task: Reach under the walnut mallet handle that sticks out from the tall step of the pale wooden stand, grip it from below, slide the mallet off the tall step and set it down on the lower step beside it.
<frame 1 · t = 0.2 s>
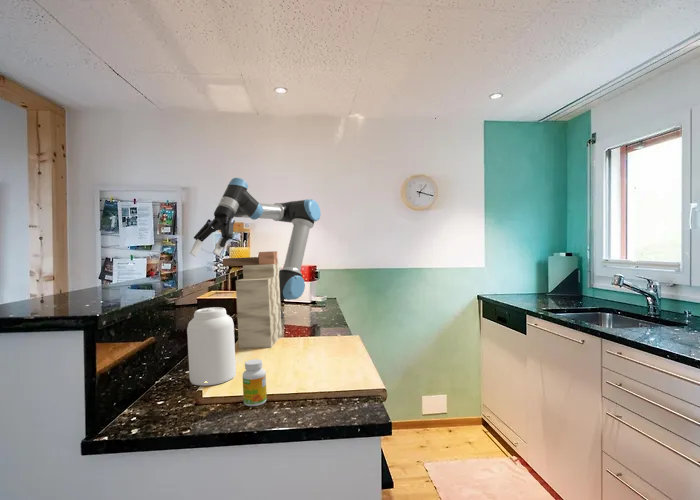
hand: (204, 254, 145), 35 cm above the counter, tool tilted 35°, fingers open, 13 cm apart
supplement bottle: (255, 402, 90), on the counter
stand: (261, 341, 148), on the counter
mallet: (250, 264, 152), point 30 cm above the counter, touching stand
white jar: (213, 379, 108), on the counter
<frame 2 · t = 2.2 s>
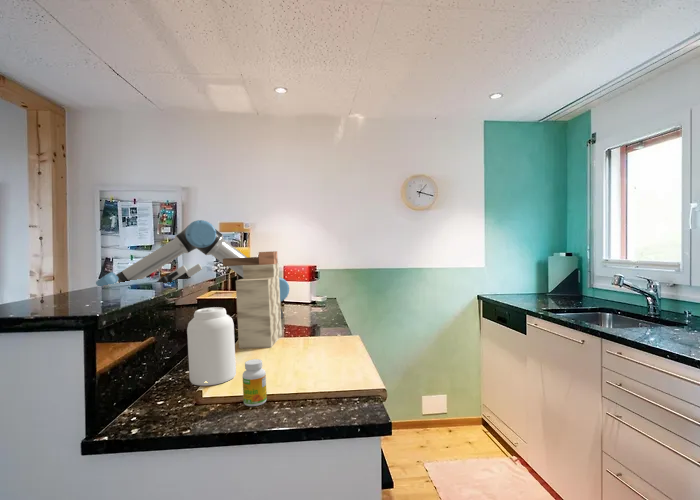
hand: (193, 267, 153), 30 cm above the counter, tool pointing upward, fingers open, 13 cm apart
nothing on the counter moved.
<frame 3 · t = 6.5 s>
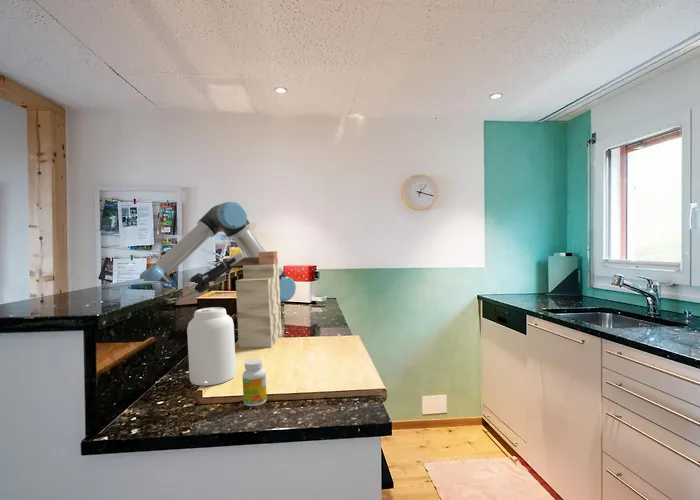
hand: (244, 254, 152), 34 cm above the counter, tool pointing upward, fingers closed on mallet, 3 cm apart
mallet: (250, 264, 152), point 30 cm above the counter, touching gripper, stand
everything else where it was.
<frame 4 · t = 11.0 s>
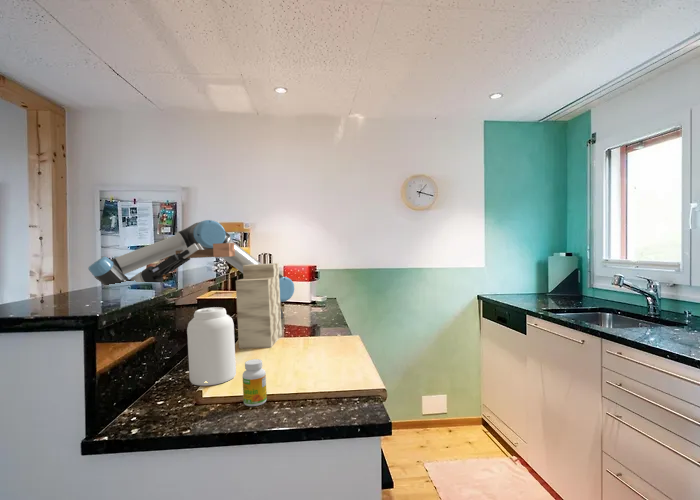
hand: (198, 246, 143), 38 cm above the counter, tool pointing upward, fingers closed on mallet, 3 cm apart
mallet: (205, 257, 143), point 34 cm above the counter, touching gripper
everything else where it was.
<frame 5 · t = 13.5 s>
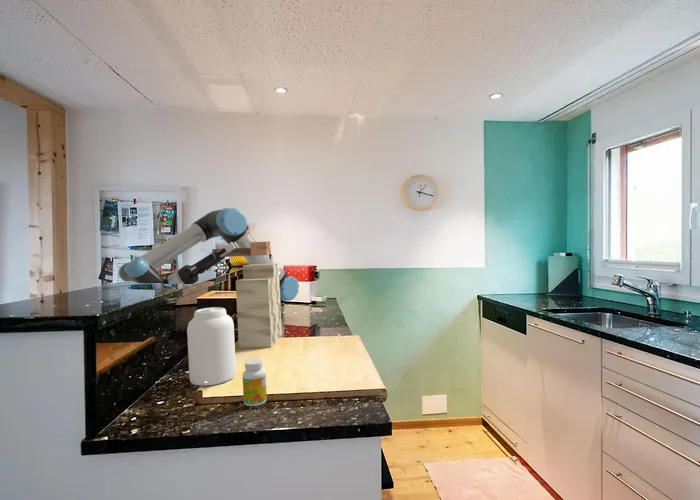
hand: (235, 245, 143), 38 cm above the counter, tool pointing upward, fingers closed on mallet, 3 cm apart
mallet: (241, 256, 143), point 34 cm above the counter, touching gripper
everything else where it was.
when the fingers open (31 cm above the counter, at t = 15.6 s): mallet drops 2 cm, resting on stand.
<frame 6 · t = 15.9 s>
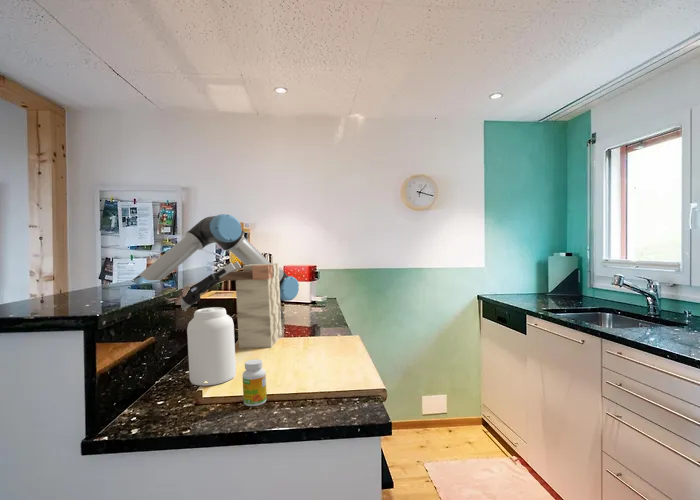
hand: (236, 265, 143), 31 cm above the counter, tool pointing upward, fingers open, 6 cm apart
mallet: (243, 279, 143), point 25 cm above the counter, touching stand
everything else where it was.
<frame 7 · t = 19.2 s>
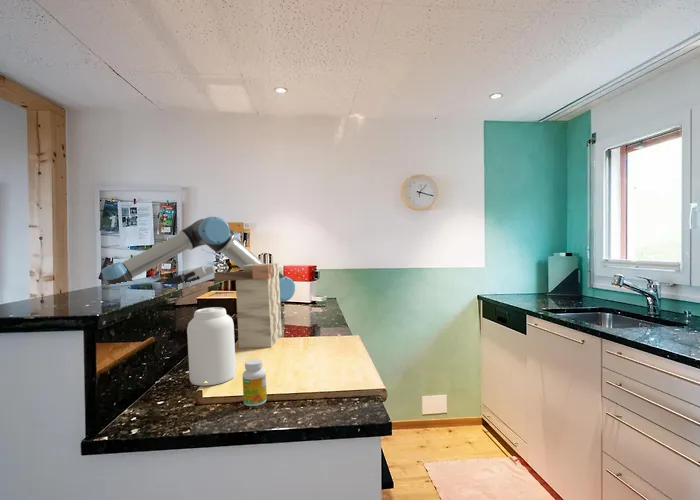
hand: (209, 269, 147), 29 cm above the counter, tool pointing upward, fingers open, 13 cm apart
nothing on the counter moved.
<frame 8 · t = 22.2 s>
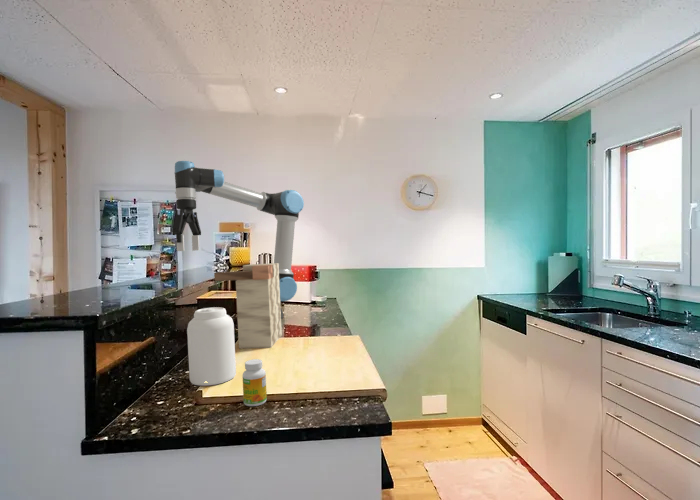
hand: (188, 250, 156), 37 cm above the counter, tool pointing down, fingers open, 13 cm apart
nothing on the counter moved.
at the end: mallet 0.3 cm from the target spot on the stand, point 25.0 cm above the stand's base; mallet tilted 0°; the gripper is holding nothing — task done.
